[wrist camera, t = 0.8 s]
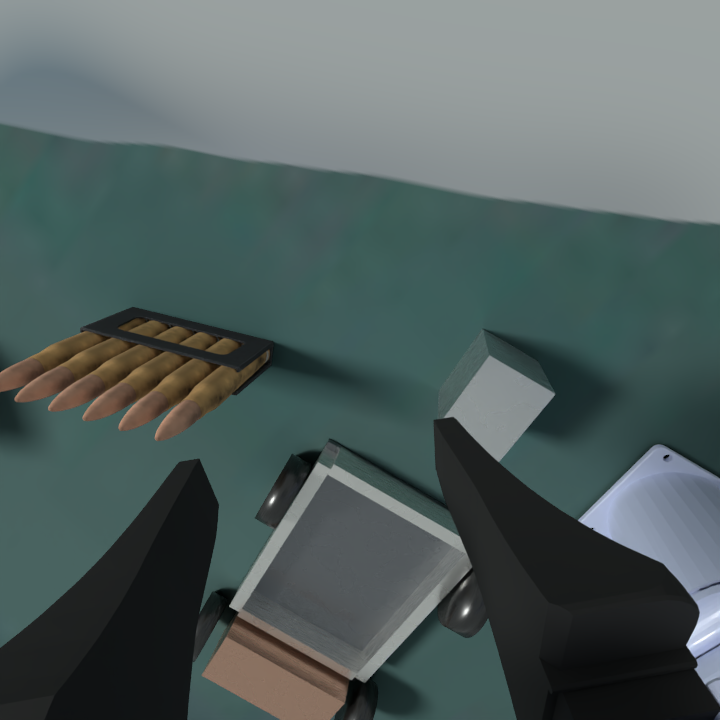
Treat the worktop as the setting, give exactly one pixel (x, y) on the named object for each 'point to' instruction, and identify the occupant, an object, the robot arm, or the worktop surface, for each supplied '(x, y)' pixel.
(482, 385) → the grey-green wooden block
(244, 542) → the worktop surface
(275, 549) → the chassis
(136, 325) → the ammunition clip
